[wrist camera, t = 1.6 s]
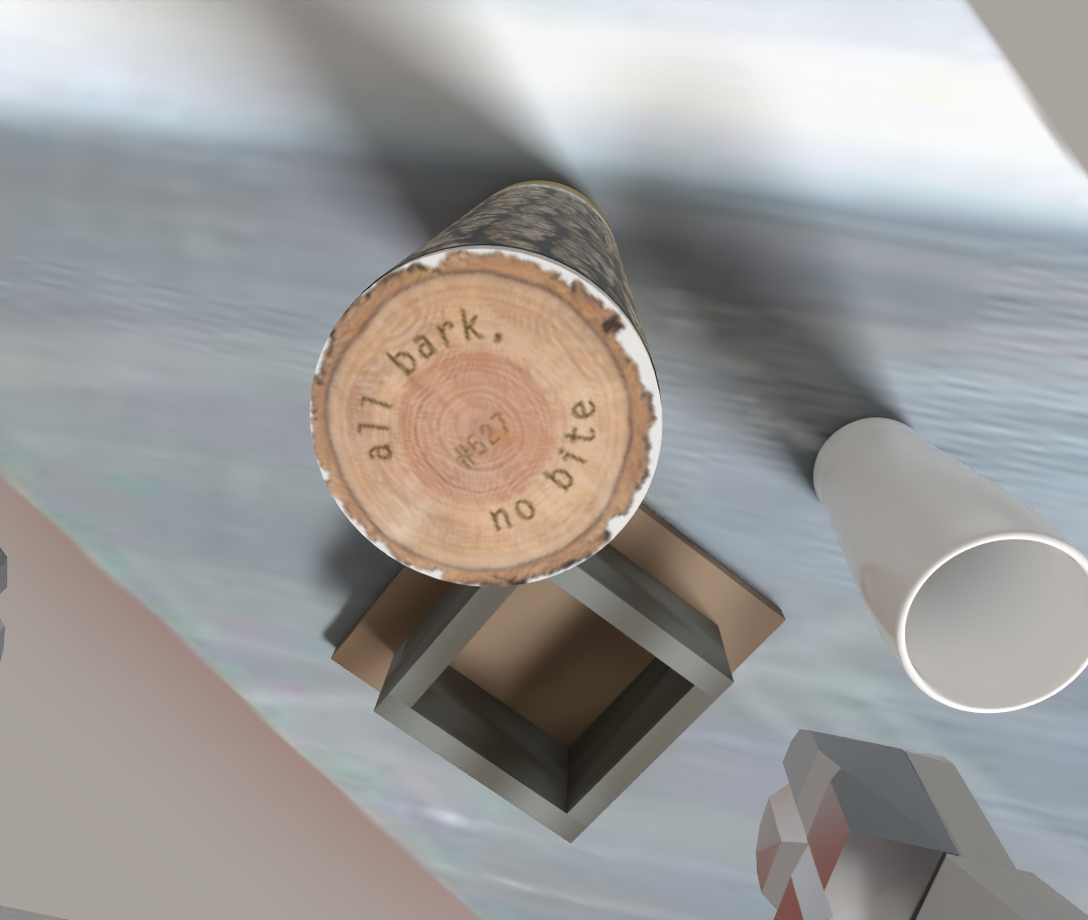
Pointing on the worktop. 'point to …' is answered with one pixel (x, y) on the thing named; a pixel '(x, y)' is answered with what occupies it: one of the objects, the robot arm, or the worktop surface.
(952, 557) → the drinking glass
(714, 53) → the worktop surface
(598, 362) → the paper tube
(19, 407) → the worktop surface
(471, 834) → the worktop surface
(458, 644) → the grey square open box
